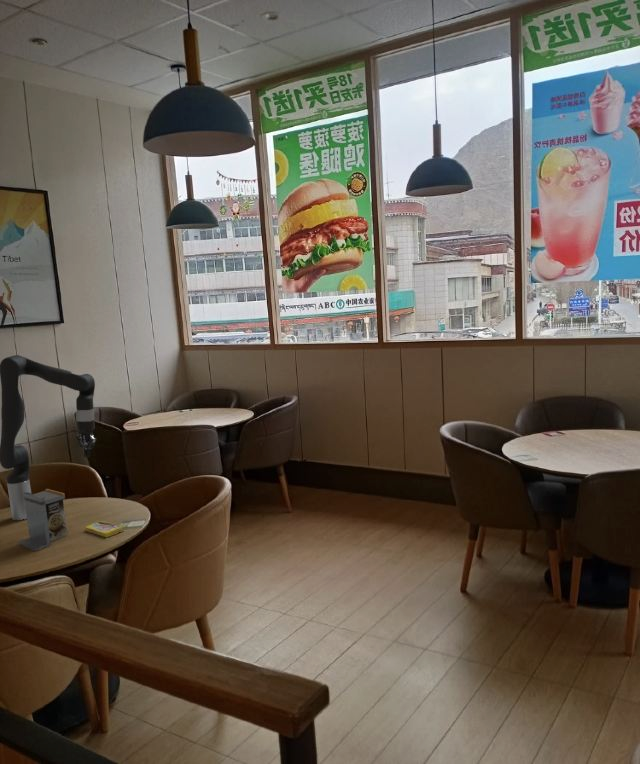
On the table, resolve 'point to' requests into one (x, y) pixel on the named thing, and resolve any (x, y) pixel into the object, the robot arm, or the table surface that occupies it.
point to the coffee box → (56, 520)
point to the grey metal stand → (39, 518)
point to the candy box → (104, 529)
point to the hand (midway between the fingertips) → (87, 457)
